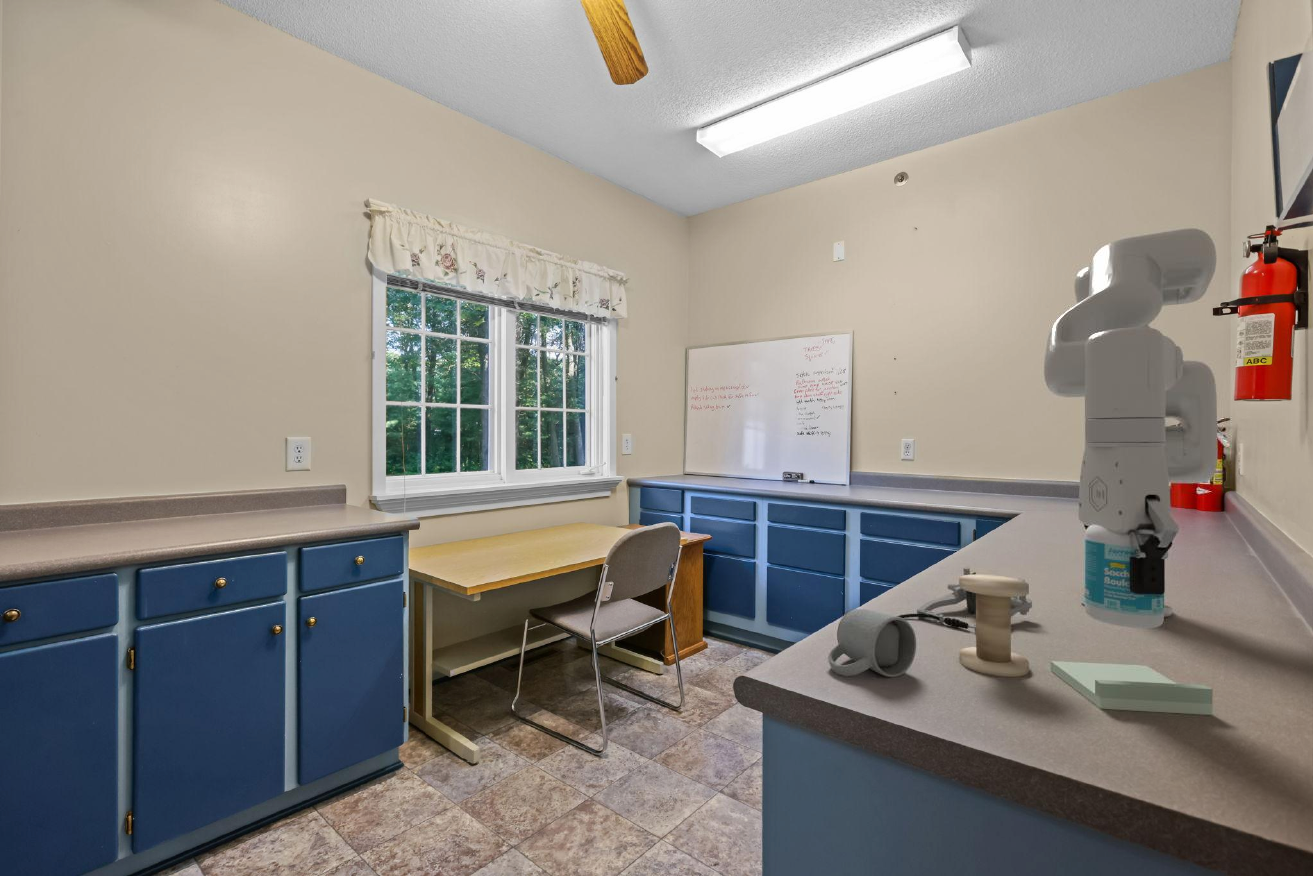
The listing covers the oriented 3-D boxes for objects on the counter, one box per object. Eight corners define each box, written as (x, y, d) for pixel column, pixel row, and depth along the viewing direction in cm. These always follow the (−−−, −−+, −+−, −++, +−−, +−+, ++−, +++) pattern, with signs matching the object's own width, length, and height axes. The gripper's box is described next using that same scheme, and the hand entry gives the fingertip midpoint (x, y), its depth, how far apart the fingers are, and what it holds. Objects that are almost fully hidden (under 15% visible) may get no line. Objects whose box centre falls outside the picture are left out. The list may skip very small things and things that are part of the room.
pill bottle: (1104, 628, 68) (1103, 508, 68) (1073, 610, 75) (1072, 502, 76) (1180, 632, 67) (1179, 510, 67) (1141, 613, 74) (1140, 503, 74)
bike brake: (962, 597, 110) (890, 633, 99) (959, 561, 109) (887, 593, 99) (1041, 618, 98) (970, 661, 88) (1039, 577, 97) (966, 616, 87)
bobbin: (950, 652, 84) (950, 573, 84) (1012, 655, 83) (1012, 575, 83) (972, 675, 76) (971, 587, 76) (1040, 678, 75) (1040, 590, 75)
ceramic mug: (872, 652, 84) (871, 599, 84) (918, 672, 77) (917, 614, 77) (814, 665, 80) (813, 609, 80) (857, 687, 73) (855, 626, 73)
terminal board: (1050, 670, 77) (1050, 648, 77) (1145, 675, 76) (1145, 652, 76) (1100, 708, 67) (1100, 683, 67) (1212, 715, 65) (1212, 689, 65)
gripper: (1052, 435, 80) (1052, 568, 80) (1135, 434, 63) (1135, 603, 63) (1114, 435, 79) (1114, 570, 79) (1216, 434, 62) (1216, 606, 62)
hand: (1124, 583), depth 71 cm, fingers closed on pill bottle, 7 cm apart
